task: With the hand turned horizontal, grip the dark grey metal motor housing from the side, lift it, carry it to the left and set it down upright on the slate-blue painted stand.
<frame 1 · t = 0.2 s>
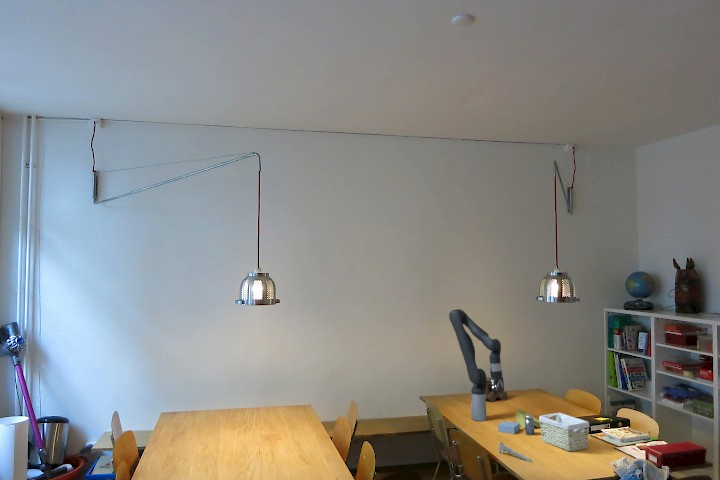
hand: (498, 394, 350), 18 cm above the table, tool pointing down, fingers open, 8 cm apart
plastic component: (528, 425, 343), on the table
stand: (509, 430, 330), on the table
caliper: (515, 458, 283), on the table
storage basket: (564, 445, 302), on the table
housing: (529, 434, 323), on the table
wooden toy train: (494, 400, 410), on the table
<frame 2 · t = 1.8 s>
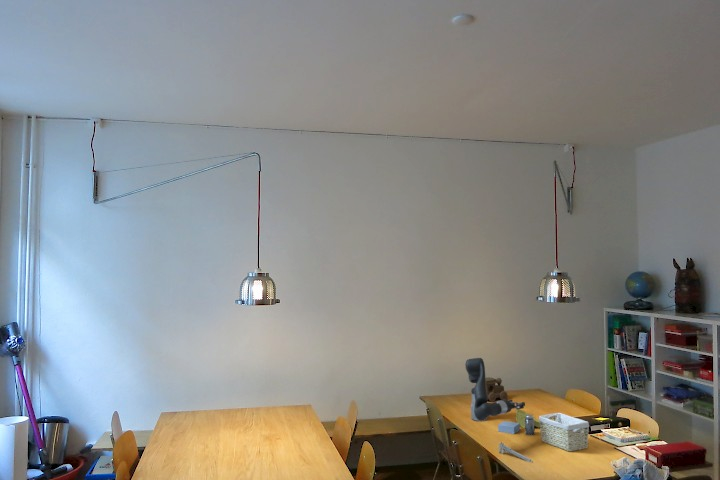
hand: (518, 402, 317), 21 cm above the table, tool horizontal, fingers open, 8 cm apart
nothing on the table moved.
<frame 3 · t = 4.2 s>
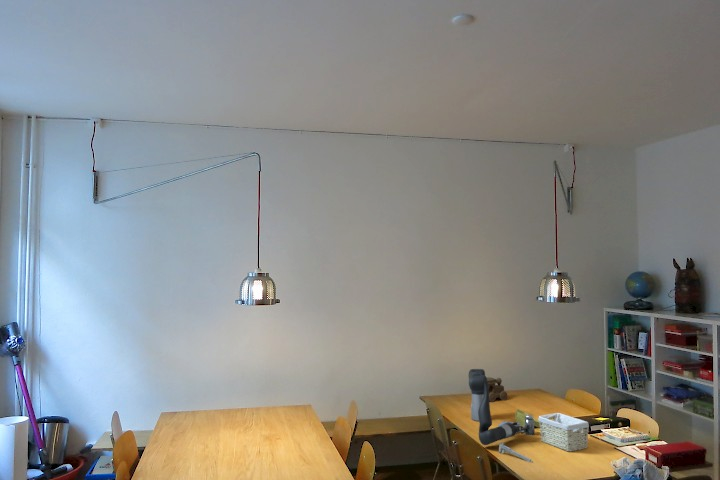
hand: (522, 425, 319), 6 cm above the table, tool horizontal, fingers open, 8 cm apart
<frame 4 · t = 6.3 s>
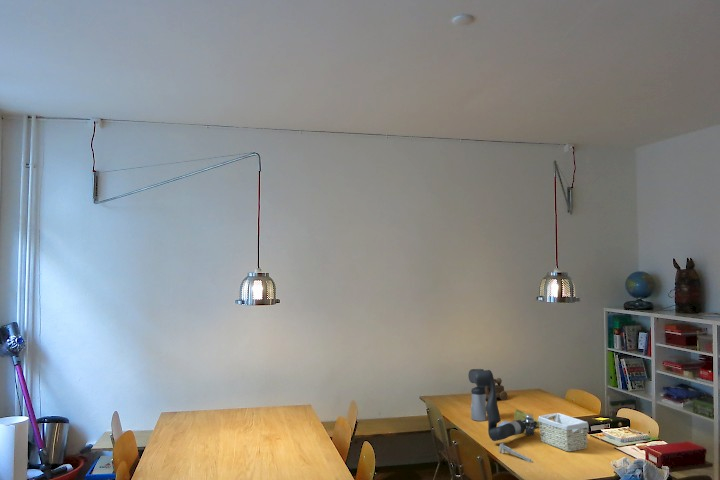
hand: (531, 422, 325), 7 cm above the table, tool horizontal, fingers closed on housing, 5 cm apart
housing: (529, 434, 323), on the table, touching gripper
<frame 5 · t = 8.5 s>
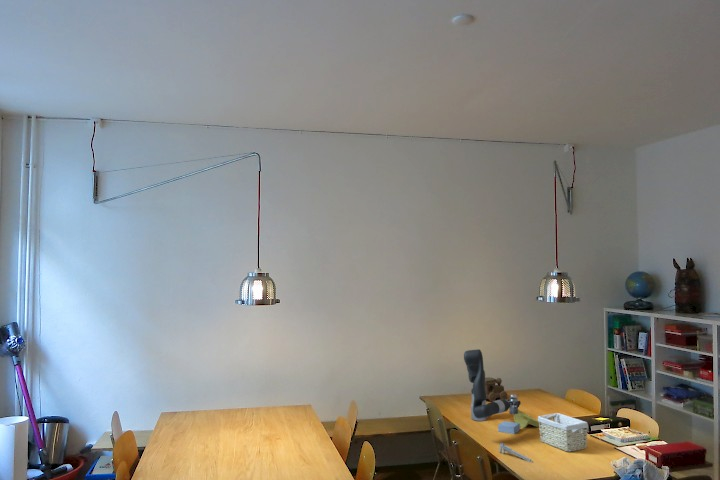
hand: (515, 401, 332), 18 cm above the table, tool horizontal, fingers closed on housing, 5 cm apart
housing: (513, 413, 330), point 11 cm above the table, touching gripper
when the fingers open (11 cm above the table, at t = 10.7 s): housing stays where it is, resting on stand.
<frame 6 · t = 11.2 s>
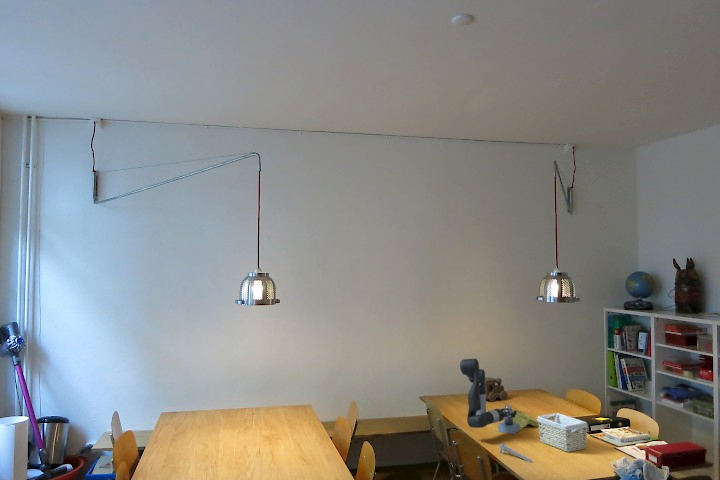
hand: (510, 411, 332), 12 cm above the table, tool horizontal, fingers open, 8 cm apart
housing: (508, 424, 331), point 4 cm above the table, touching stand
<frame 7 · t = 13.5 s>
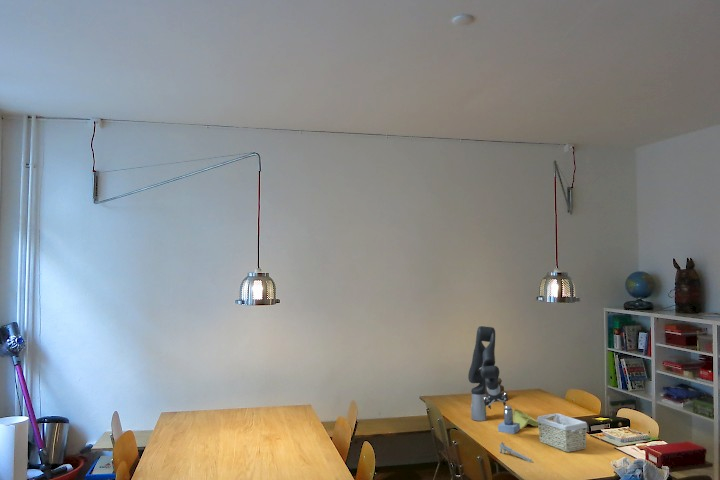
hand: (497, 406, 325), 17 cm above the table, tool tilted 40°, fingers open, 8 cm apart
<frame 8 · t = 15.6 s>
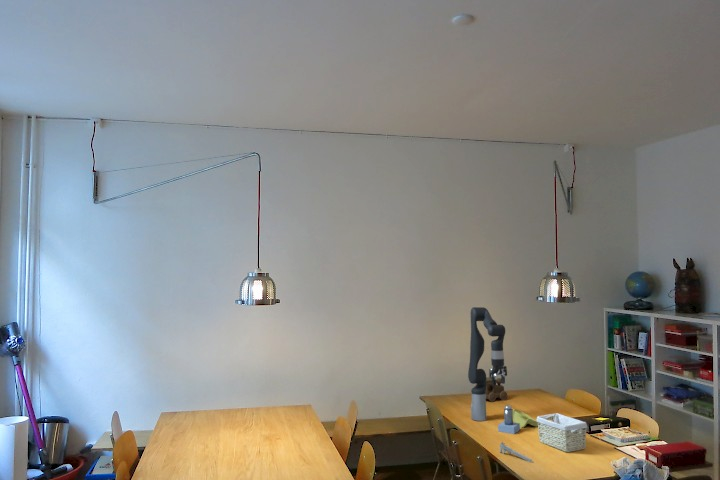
hand: (498, 384, 324), 30 cm above the table, tool pointing down, fingers open, 8 cm apart
at the end: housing inside the target area on the stand (0.1 cm from its centre), point 4.0 cm above the stand's base; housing tilted 1°; the gripper is holding nothing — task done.
